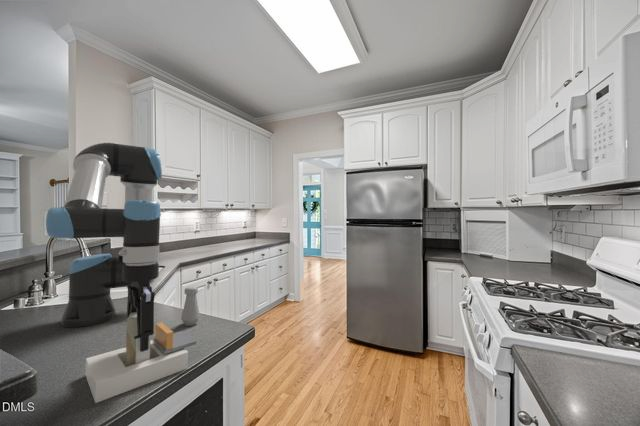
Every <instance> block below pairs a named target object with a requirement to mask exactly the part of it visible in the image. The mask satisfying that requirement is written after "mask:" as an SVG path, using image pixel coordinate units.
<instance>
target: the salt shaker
mask: <svg viewBox="0 0 640 426" xmlns="http://www.w3.org/2000/svg"><path fill="white" fill-rule="evenodd" d="M183 292H184V294H185V295H186V296H185V300H184V306H183V310H182V313H181V319H180V320H181V321H182V323H183V325H184V326H185V327H191V326H196V325H197V324H198V322H199V319H200V311H199V310H200V309H199V305H198V298H197V294H198V292H199V289H198V287H197V286H196V285H195V286H193V285H191V286H187V287H185V288H184V291H183Z"/></svg>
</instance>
